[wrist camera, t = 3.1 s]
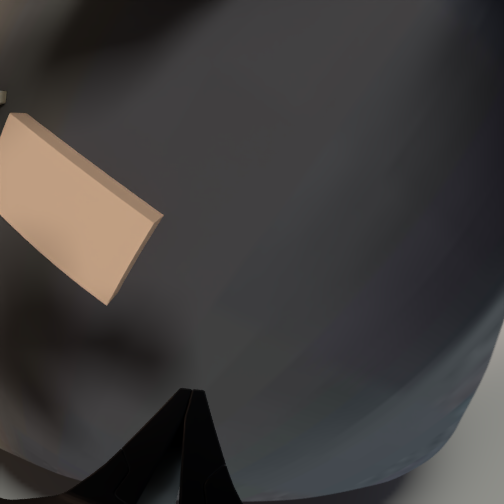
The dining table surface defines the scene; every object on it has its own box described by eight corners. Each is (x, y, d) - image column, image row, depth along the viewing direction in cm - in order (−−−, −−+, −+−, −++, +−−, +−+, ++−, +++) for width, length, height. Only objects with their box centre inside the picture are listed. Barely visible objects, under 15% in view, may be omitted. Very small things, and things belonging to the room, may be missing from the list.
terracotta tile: (165, 213, 19) (154, 223, 16) (120, 289, 21) (106, 305, 18) (29, 113, 16) (9, 112, 14) (1, 189, 18) (-18, 195, 16)
